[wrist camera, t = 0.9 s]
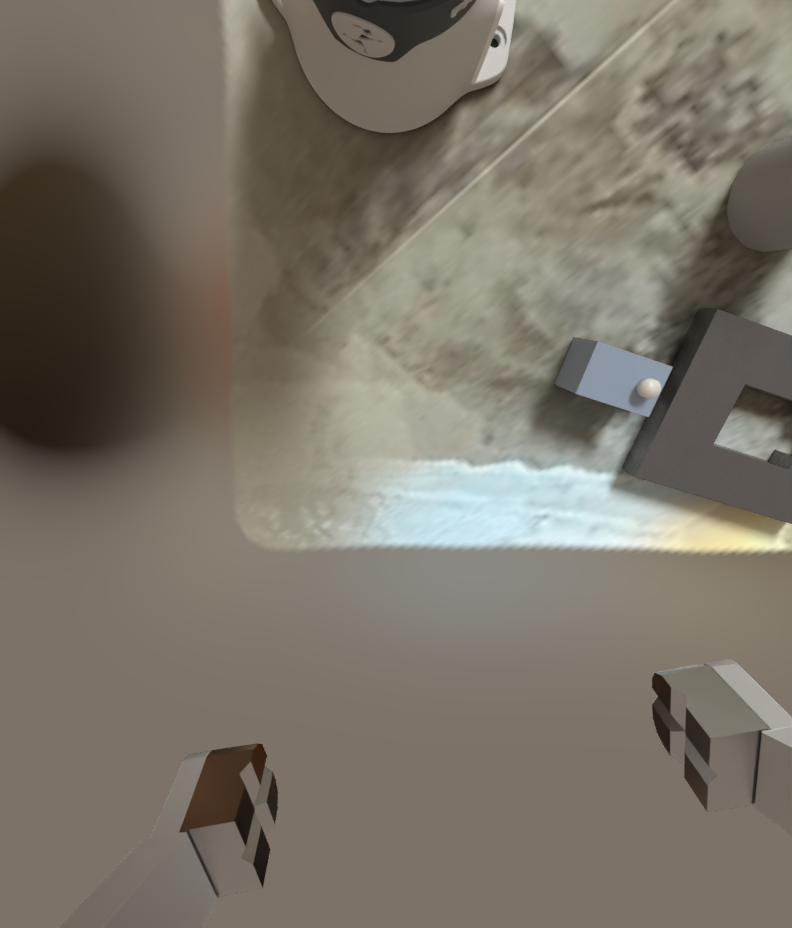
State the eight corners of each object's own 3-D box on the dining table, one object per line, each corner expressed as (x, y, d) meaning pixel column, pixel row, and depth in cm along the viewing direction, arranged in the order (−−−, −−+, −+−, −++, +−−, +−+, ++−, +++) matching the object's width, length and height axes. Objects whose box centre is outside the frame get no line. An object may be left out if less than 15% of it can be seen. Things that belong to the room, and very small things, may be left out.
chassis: (699, 308, 44) (717, 308, 41) (878, 373, 46) (905, 377, 44) (622, 468, 48) (635, 476, 46) (789, 518, 51) (809, 529, 49)
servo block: (573, 337, 44) (603, 342, 38) (655, 364, 45) (696, 373, 39) (554, 384, 45) (580, 395, 40) (634, 410, 46) (670, 424, 41)
